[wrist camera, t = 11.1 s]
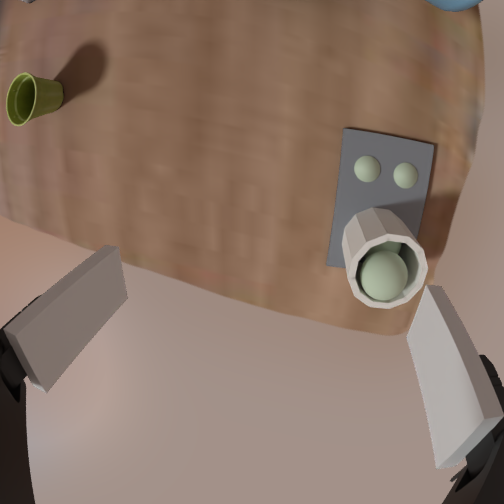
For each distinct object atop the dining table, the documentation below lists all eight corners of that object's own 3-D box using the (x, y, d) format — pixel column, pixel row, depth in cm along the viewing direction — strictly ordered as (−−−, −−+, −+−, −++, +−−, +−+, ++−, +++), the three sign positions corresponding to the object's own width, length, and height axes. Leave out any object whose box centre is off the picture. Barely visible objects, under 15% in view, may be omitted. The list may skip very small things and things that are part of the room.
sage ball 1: (357, 216, 42) (365, 216, 36) (396, 222, 41) (409, 222, 35) (352, 258, 42) (359, 264, 36) (391, 263, 41) (403, 270, 36)
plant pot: (50, 65, 39) (17, 65, 31) (77, 82, 40) (42, 83, 32) (33, 108, 43) (1, 113, 35) (58, 128, 44) (24, 135, 36)
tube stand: (343, 128, 37) (353, 131, 27) (432, 144, 35) (466, 155, 25) (326, 263, 46) (328, 303, 36) (405, 272, 44) (424, 313, 34)
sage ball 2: (368, 242, 33) (362, 296, 32) (416, 249, 31) (411, 302, 31) (358, 252, 38) (353, 298, 37) (401, 258, 37) (396, 303, 36)
